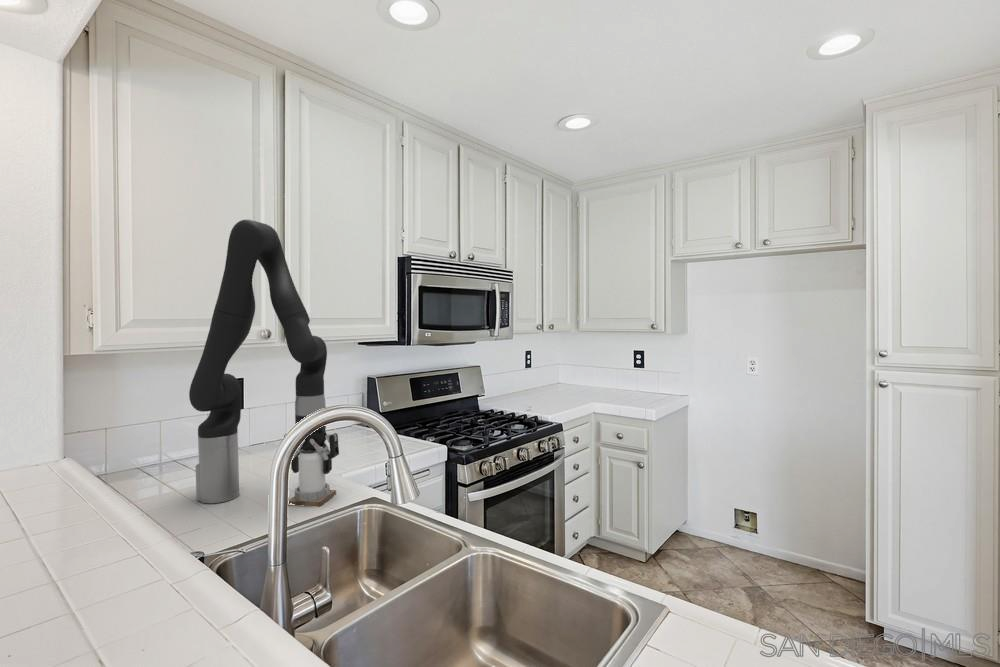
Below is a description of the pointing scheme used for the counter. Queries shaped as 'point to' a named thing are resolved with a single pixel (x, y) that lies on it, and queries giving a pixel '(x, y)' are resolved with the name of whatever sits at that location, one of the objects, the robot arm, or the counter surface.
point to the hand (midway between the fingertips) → (311, 472)
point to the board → (313, 503)
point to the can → (311, 472)
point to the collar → (312, 494)
